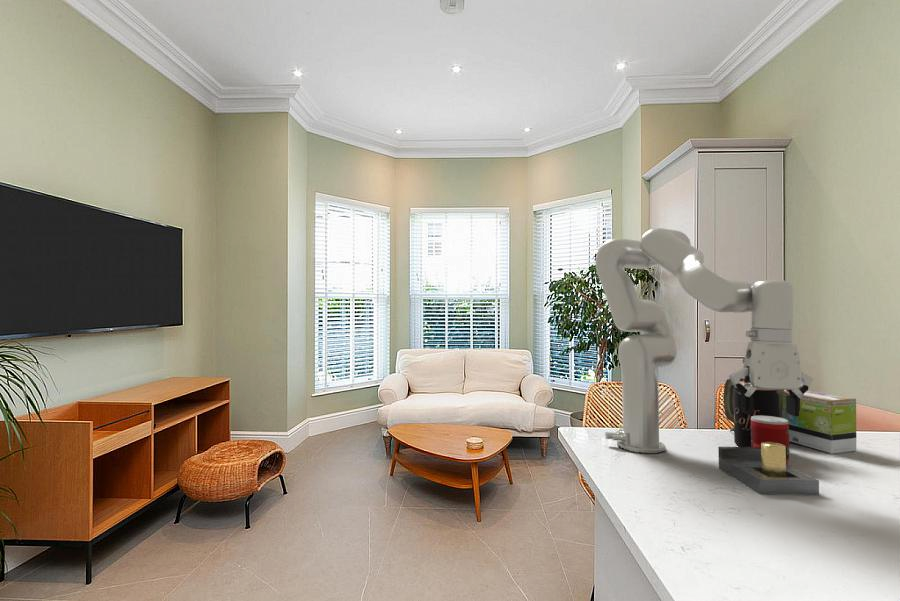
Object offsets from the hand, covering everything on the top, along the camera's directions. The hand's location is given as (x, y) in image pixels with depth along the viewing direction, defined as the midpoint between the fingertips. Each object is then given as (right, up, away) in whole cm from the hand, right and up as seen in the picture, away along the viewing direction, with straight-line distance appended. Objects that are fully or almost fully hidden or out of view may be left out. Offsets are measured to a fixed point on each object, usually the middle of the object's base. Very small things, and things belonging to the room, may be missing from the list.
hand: (769, 414), depth 104 cm
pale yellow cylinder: (0, -16, -1) cm, 16 cm away
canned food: (+11, -16, +16) cm, 25 cm away
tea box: (+34, -17, +31) cm, 49 cm away
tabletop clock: (+24, -17, +41) cm, 51 cm away
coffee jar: (+15, -17, +28) cm, 36 cm away
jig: (0, -16, +2) cm, 16 cm away
